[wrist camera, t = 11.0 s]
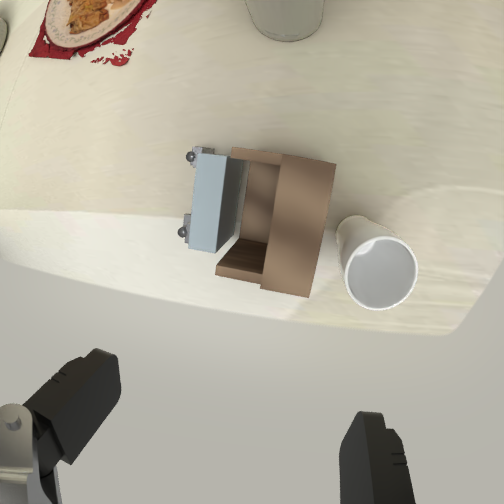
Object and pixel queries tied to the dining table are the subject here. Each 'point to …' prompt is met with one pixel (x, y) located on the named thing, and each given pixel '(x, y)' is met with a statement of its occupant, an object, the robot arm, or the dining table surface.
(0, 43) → the canister
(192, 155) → the hinge clips
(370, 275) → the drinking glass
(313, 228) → the cabinet
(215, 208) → the door
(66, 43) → the plate with food
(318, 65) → the dining table surface
